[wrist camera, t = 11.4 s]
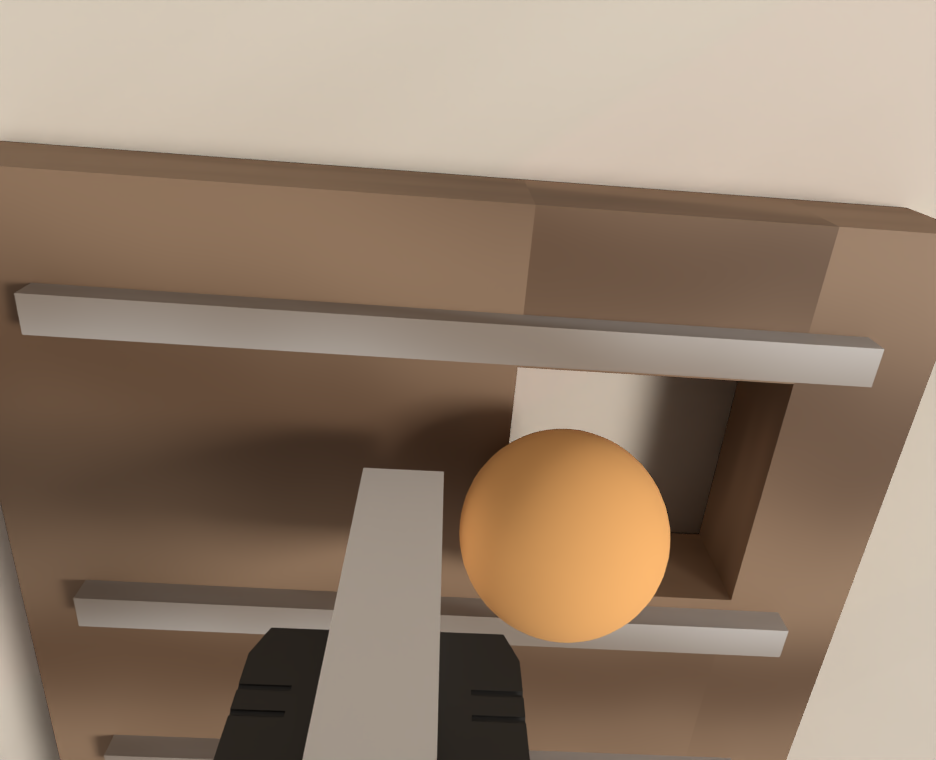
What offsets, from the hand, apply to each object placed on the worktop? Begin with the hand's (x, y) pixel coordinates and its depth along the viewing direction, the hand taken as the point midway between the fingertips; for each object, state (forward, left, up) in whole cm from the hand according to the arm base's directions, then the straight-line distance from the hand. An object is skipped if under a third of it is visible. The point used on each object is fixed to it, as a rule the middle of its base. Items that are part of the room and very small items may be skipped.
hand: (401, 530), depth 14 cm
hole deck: (-6, -1, -4) cm, 7 cm away
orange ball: (0, -3, 0) cm, 3 cm away
